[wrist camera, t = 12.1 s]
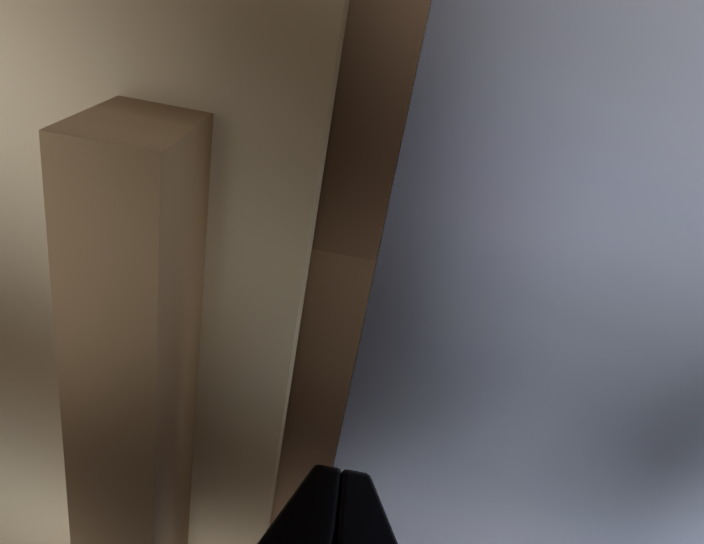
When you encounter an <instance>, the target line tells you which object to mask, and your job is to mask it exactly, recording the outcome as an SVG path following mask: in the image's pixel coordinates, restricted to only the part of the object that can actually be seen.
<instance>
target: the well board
mask: <svg viewBox="0 0 704 544" xmlns="http://www.w3.org/2000/svg"><path fill="white" fill-rule="evenodd" d="M430 5H431V0H350V2H349V8H348V15H347V21H346V28H345V34H344V41H343V47H342V54H341V61H340V67H339V74H338V80H337V87H336V93H335V100H334V106H333V113H332V120H331V126H330V133H329V139H328V146H327V152H326V159H325V165H324V172H323V179H322V185H321V192H320V198H319V205H318V211H317V218H316V224H315V231H314V238H313V244H312V251H311V257H310V264H309V270H308V277H307V284H306V290H305V297H304V303H303V310H302V316H301V323H300V329H299V336H298V343H297V349H296V356H295V362H294V369H293V375H292V382H291V388H290V395H289V402H288V408H287V415H286V421H285V428H284V434H283V441H282V447H281V454H280V461H279V467H278V474H277V480H276V487H275V493H274V500H273V507H272V513H271V520H270V525H271V524H272V523H273V521H274V520H275V518H276V517H277V516H278V514H279V513H280V511H281V510H282V509H283V507H284V506H285V505H286V503H287V502H288V500H289V499H290V498H291V496H292V495H293V493H294V492H295V491H296V489H297V488H298V486H299V485H300V484H301V482H302V481H303V480H304V478H305V477H306V475H307V474H308V473H309V471H310V470H311V469H312V467H313V466H315V465H317V464H320V465H325V466H331V467H333V464H334V460H335V455H336V450H337V446H338V441H339V436H340V431H341V427H342V422H343V417H344V412H345V408H346V403H347V398H348V393H349V389H350V384H351V379H352V374H353V370H354V365H355V360H356V355H357V351H358V346H359V341H360V336H361V332H362V327H363V322H364V318H365V313H366V308H367V303H368V299H369V294H370V289H371V284H372V280H373V275H374V270H375V265H376V261H377V256H378V251H379V246H380V242H381V237H382V232H383V227H384V223H385V218H386V213H387V208H388V204H389V199H390V194H391V190H392V185H393V180H394V175H395V171H396V166H397V161H398V156H399V152H400V147H401V142H402V137H403V133H404V128H405V123H406V118H407V114H408V109H409V104H410V99H411V95H412V90H413V85H414V80H415V76H416V71H417V66H418V62H419V57H420V52H421V47H422V43H423V38H424V33H425V28H426V24H427V19H428V14H429V9H430ZM269 527H270V526H269Z"/></svg>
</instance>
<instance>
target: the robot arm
mask: <svg viewBox="0 0 704 544" xmlns="http://www.w3.org/2000/svg"><path fill="white" fill-rule="evenodd" d="M257 544H398V543H397V540H396V538H395V536H394V533H393V531H392V528H391V526H390V523H389V521H388V518H387V516H386V513H385V511H384V508H383V506H382V504H381V501H380V499H379V496H378V494H377V491H376V489H375V486H374V484H373V481H372V479H371V477H370V476H369V475H368V474H367V473H363V472H358V471H352V470H344V471H343V472H342V473H341V470H340V469H339V468H336V467H331V466H325V465H320V464H317V465H315V466H313V467H312V469H311V470H310V471H309V473H308V474H307V475H306V477H305V478H304V480H303V481H302V482H301V484H300V485H299V486H298V488H297V489H296V491H295V492H294V493H293V495H292V496H291V498H290V499H289V500H288V502H287V503H286V505H285V506H284V507H283V509H282V510H281V511H280V513H279V514H278V516H277V517H276V518H275V520H274V521H273V523H272V524H271V525H270V527H269V528H268V529H267V531H266V532H265V534H264V535H263V536H262V538H261V539H260V541H259V542H258V543H257Z"/></svg>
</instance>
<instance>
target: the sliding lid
mask: <svg viewBox="0 0 704 544" xmlns="http://www.w3.org/2000/svg"><path fill="white" fill-rule="evenodd" d="M349 2H350V0H0V544H257V543H258V542H259V541H260V539H261V538H262V536H263V535H264V534H265V532H266V531H267V529H268V528H269V526H270V520H271V513H272V507H273V500H274V493H275V487H276V480H277V474H278V467H279V461H280V454H281V447H282V441H283V434H284V428H285V421H286V415H287V408H288V402H289V395H290V388H291V382H292V375H293V369H294V362H295V356H296V349H297V343H298V336H299V329H300V323H301V316H302V310H303V303H304V297H305V290H306V284H307V277H308V270H309V264H310V257H311V251H312V244H313V238H314V231H315V224H316V218H317V211H318V205H319V198H320V192H321V185H322V179H323V172H324V165H325V159H326V152H327V146H328V139H329V133H330V126H331V120H332V113H333V106H334V100H335V93H336V87H337V80H338V74H339V67H340V61H341V54H342V47H343V41H344V34H345V28H346V21H347V15H348V8H349Z"/></svg>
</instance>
